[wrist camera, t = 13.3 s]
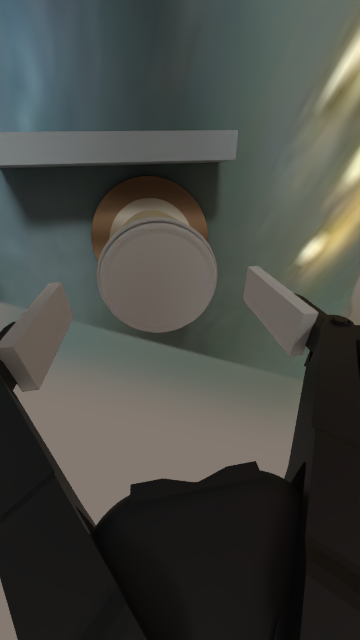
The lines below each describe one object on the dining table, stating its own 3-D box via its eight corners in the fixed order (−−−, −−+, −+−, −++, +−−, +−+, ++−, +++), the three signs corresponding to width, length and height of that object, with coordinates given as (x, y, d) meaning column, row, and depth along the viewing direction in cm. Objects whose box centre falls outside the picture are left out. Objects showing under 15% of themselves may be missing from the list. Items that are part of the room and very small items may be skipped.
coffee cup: (163, 292, 30) (175, 350, 20) (98, 256, 26) (73, 305, 16) (205, 234, 26) (244, 268, 16) (138, 181, 22) (136, 184, 12)
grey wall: (-12, 141, 20) (-51, 132, 16) (220, 138, 22) (238, 129, 18) (-1, 168, 21) (-35, 166, 17) (218, 162, 23) (235, 159, 19)
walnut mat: (77, 178, 22) (75, 178, 21) (209, 173, 24) (211, 173, 23) (106, 298, 30) (105, 301, 29) (204, 289, 32) (206, 291, 31)
